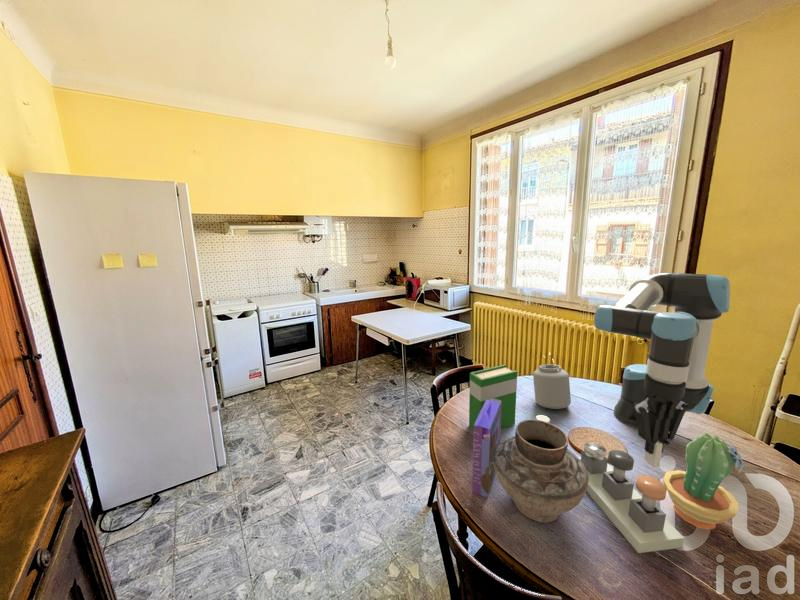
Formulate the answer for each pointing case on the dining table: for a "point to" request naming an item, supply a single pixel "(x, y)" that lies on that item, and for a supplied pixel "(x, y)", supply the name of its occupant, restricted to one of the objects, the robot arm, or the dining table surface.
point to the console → (629, 509)
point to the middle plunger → (620, 463)
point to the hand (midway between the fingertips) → (651, 462)
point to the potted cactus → (704, 483)
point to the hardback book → (493, 392)
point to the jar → (552, 386)
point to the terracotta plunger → (650, 491)
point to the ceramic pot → (540, 471)
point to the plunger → (595, 451)
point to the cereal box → (485, 446)
